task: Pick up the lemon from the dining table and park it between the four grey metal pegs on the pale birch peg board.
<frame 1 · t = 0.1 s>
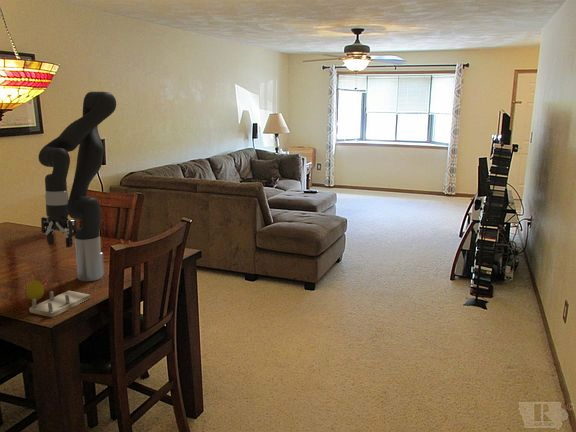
hand: (59, 245, 176), 17 cm above the table, tool pointing down, fingers open, 8 cm apart
lemon: (36, 301, 169), on the table
peg board: (61, 305, 166), on the table
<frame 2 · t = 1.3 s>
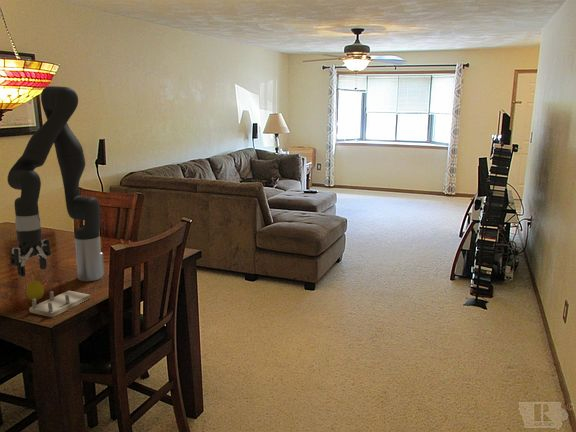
hand: (32, 272, 166), 11 cm above the table, tool pointing down, fingers open, 8 cm apart
nothing on the table moved.
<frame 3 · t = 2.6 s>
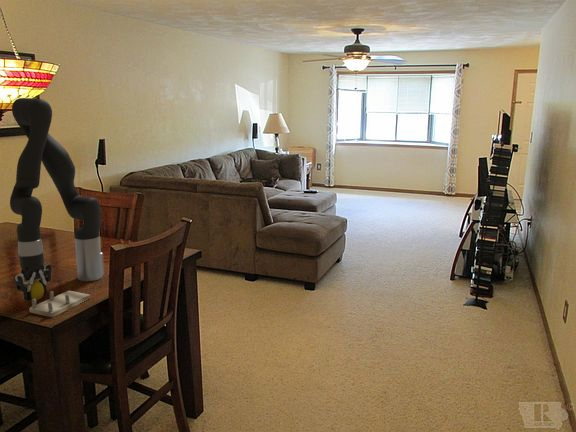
hand: (35, 297, 168), 2 cm above the table, tool pointing down, fingers closed on lemon, 5 cm apart
lemon: (36, 301, 169), on the table, touching gripper
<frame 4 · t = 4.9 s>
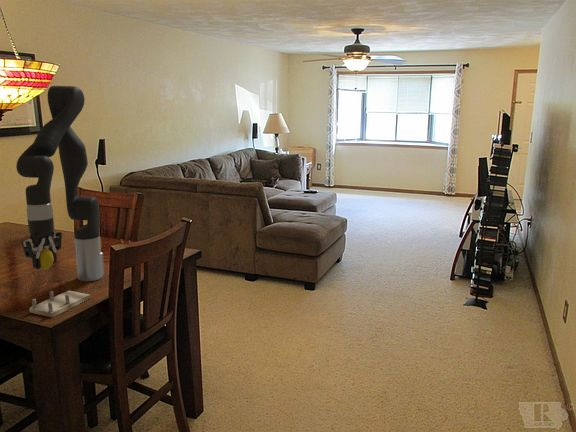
hand: (45, 265, 159), 16 cm above the table, tool pointing down, fingers closed on lemon, 5 cm apart
lemon: (45, 270, 159), point 14 cm above the table, touching gripper
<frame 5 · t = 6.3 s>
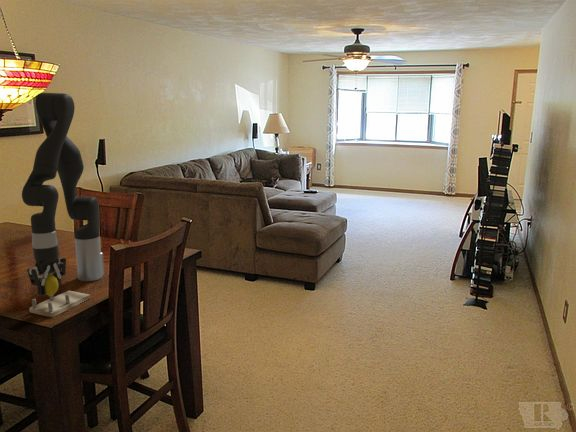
hand: (50, 292, 161), 6 cm above the table, tool pointing down, fingers closed on lemon, 5 cm apart
lemon: (50, 296, 161), point 5 cm above the table, touching gripper
when the fingers open (4 cm above the table, at t = 7.1 s): lemon drops 1 cm, resting on peg board.
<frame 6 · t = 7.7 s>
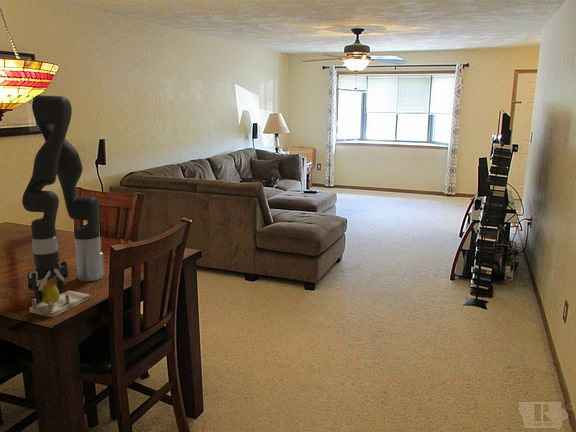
hand: (50, 295, 161), 5 cm above the table, tool pointing down, fingers open, 8 cm apart
lemon: (51, 305, 162), point 1 cm above the table, touching peg board
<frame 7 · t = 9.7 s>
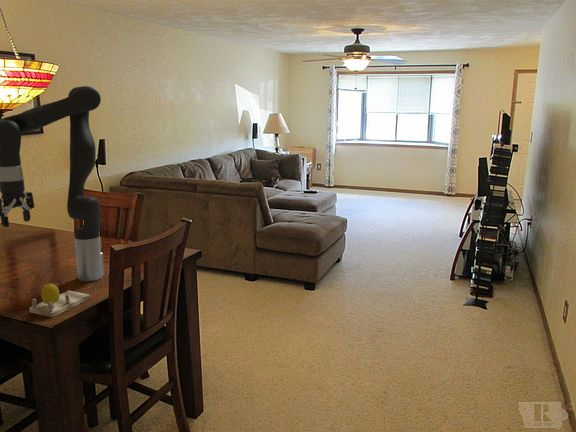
hand: (16, 223, 169), 27 cm above the table, tool pointing down, fingers open, 8 cm apart
nothing on the table moved.
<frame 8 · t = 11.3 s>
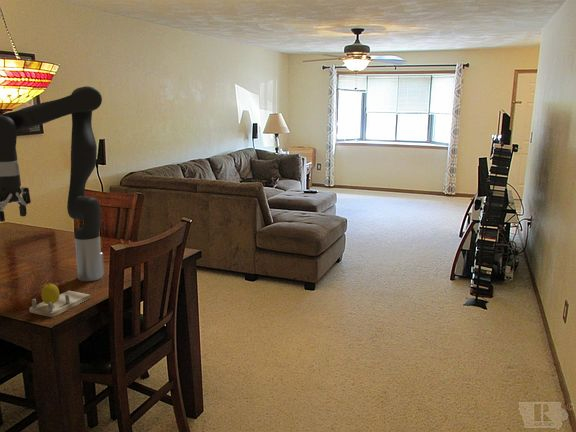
hand: (12, 218, 170), 28 cm above the table, tool pointing down, fingers open, 8 cm apart
nothing on the table moved.
at the end: lemon 0.1 cm from the target spot on the peg board, point 1.3 cm above the peg board's base; the gripper is holding nothing; lemon tilted 0° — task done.
